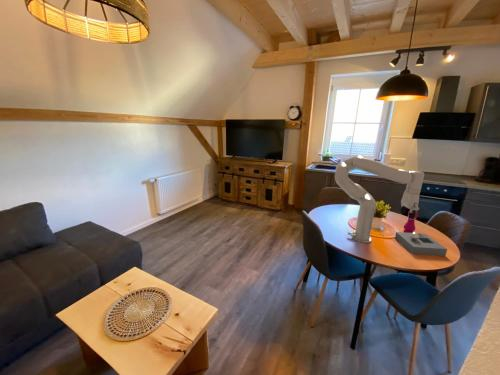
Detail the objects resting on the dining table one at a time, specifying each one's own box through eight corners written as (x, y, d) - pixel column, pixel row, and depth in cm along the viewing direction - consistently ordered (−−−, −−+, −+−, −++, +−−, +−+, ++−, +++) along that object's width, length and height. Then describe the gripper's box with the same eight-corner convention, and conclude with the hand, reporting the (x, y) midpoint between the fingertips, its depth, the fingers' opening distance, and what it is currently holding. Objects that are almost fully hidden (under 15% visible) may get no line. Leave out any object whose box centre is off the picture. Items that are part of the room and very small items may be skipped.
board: (411, 253, 138) (413, 246, 137) (394, 238, 157) (396, 232, 156) (445, 256, 136) (447, 249, 135) (423, 240, 156) (425, 233, 154)
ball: (412, 241, 144) (413, 234, 142) (407, 237, 148) (409, 230, 147) (420, 241, 143) (421, 234, 142) (415, 237, 148) (416, 231, 147)
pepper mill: (415, 235, 161) (422, 211, 156) (405, 234, 163) (411, 210, 157) (411, 231, 168) (417, 207, 163) (400, 230, 170) (406, 206, 164)
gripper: (398, 186, 146) (393, 210, 150) (415, 194, 129) (409, 220, 134) (410, 186, 145) (404, 210, 150) (428, 194, 128) (421, 221, 133)
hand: (406, 215), depth 142 cm, fingers open, 8 cm apart
